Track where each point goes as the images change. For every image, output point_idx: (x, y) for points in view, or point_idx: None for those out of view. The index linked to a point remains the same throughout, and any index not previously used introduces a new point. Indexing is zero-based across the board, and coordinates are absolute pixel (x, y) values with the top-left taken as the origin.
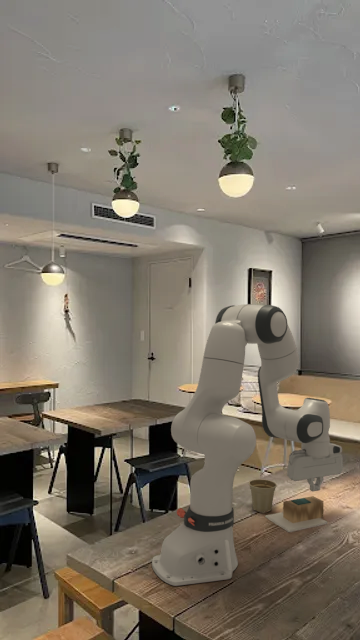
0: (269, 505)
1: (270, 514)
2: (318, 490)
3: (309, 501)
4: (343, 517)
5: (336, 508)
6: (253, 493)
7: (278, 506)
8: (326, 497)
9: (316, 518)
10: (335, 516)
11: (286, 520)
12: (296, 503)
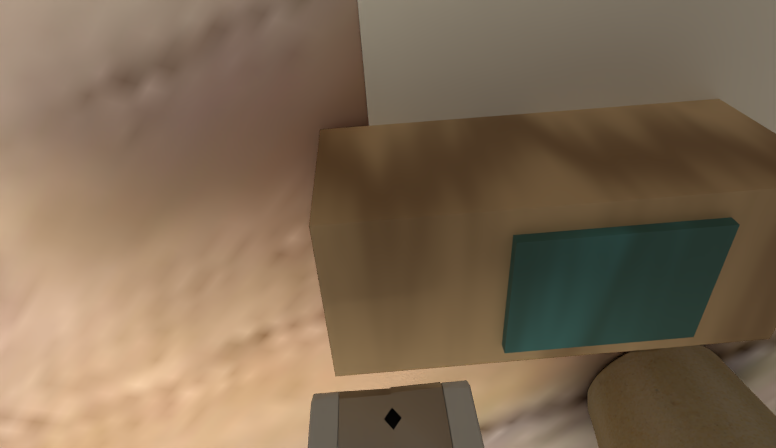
0: (684, 380)
1: None
2: (340, 392)
3: (526, 255)
4: (74, 83)
5: (59, 272)
6: None
7: (512, 393)
8: (59, 434)
9: (416, 118)
10: (156, 132)
11: None
12: (722, 253)
